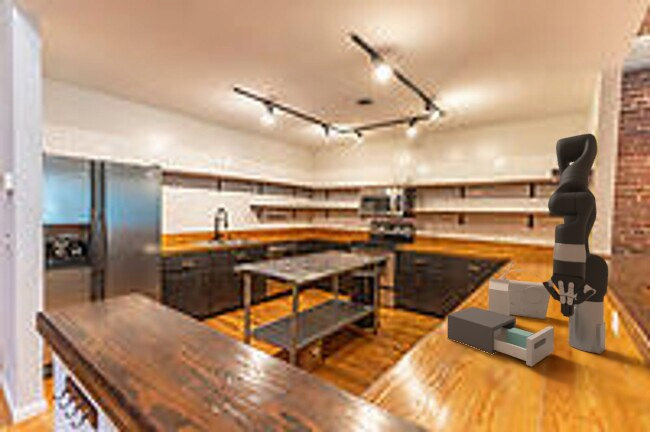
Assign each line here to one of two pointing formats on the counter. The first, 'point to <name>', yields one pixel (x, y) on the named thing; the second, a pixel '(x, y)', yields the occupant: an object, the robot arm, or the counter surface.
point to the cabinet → (477, 327)
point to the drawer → (535, 345)
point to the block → (518, 337)
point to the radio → (527, 298)
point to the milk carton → (499, 296)
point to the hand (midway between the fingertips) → (567, 316)
